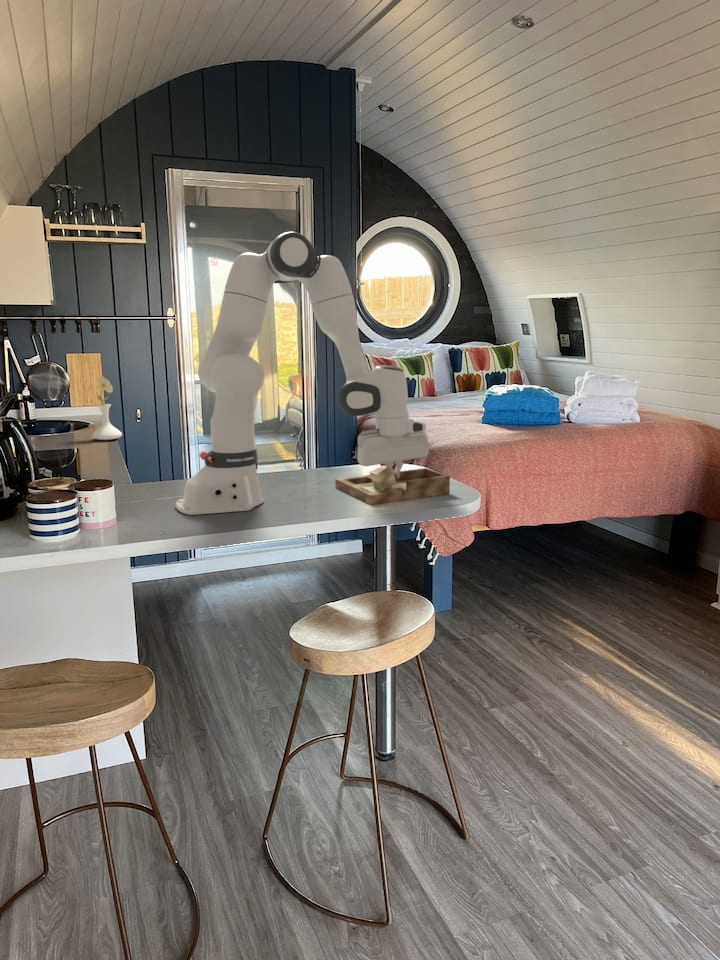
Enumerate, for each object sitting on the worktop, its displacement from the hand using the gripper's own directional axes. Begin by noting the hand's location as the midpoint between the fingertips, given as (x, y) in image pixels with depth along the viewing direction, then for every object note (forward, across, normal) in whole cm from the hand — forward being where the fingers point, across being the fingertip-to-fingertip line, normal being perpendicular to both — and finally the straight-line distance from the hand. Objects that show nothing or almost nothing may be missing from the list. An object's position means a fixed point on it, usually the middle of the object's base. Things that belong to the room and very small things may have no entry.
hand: (394, 477), depth 200 cm
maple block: (+2, -3, 0) cm, 3 cm away
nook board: (+5, +2, +5) cm, 7 cm away
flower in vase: (+1, -54, +137) cm, 147 cm away
